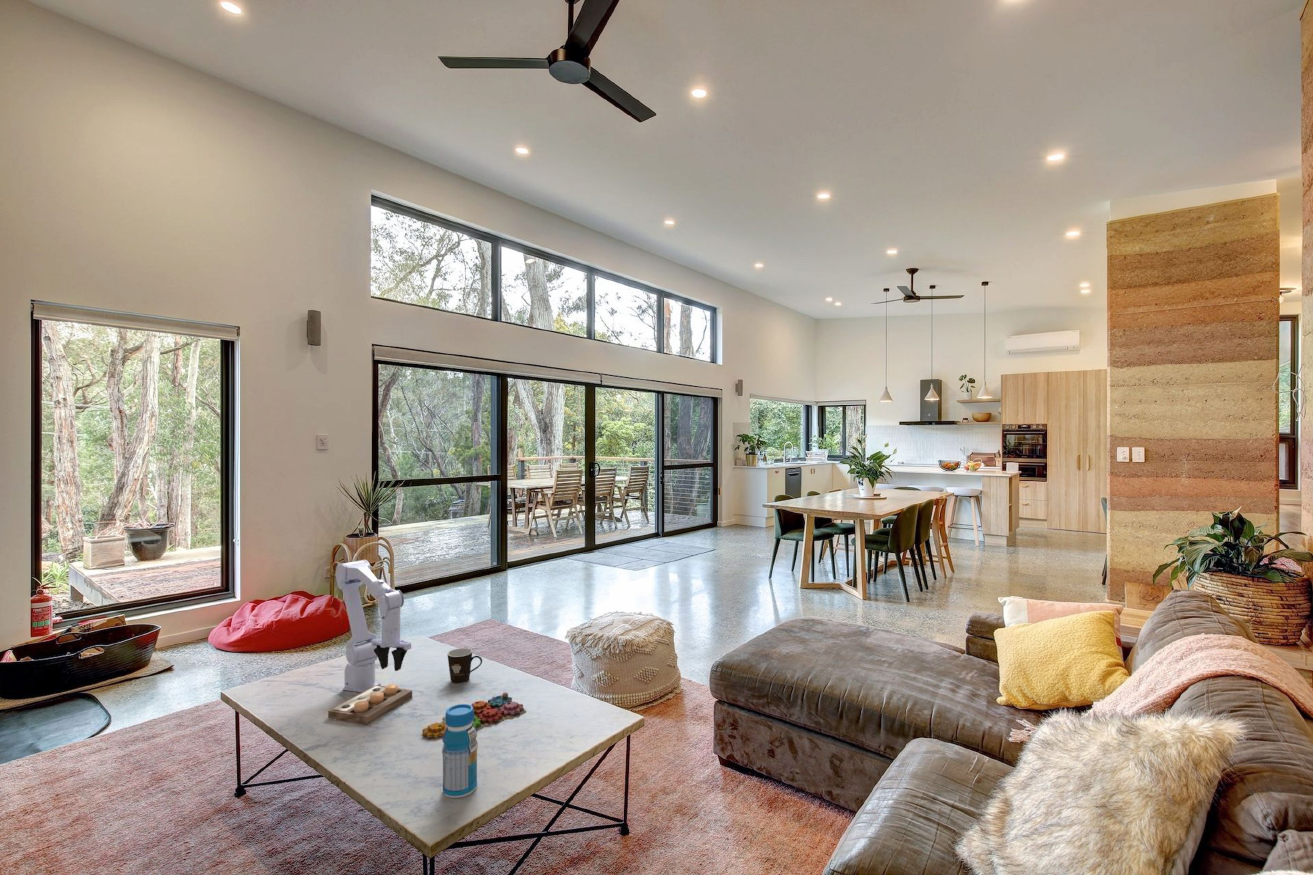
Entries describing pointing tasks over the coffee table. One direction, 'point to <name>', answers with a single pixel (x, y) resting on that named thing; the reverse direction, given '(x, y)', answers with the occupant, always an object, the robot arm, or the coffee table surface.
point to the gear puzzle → (483, 714)
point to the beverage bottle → (459, 752)
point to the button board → (375, 710)
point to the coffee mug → (460, 664)
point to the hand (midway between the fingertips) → (391, 668)
